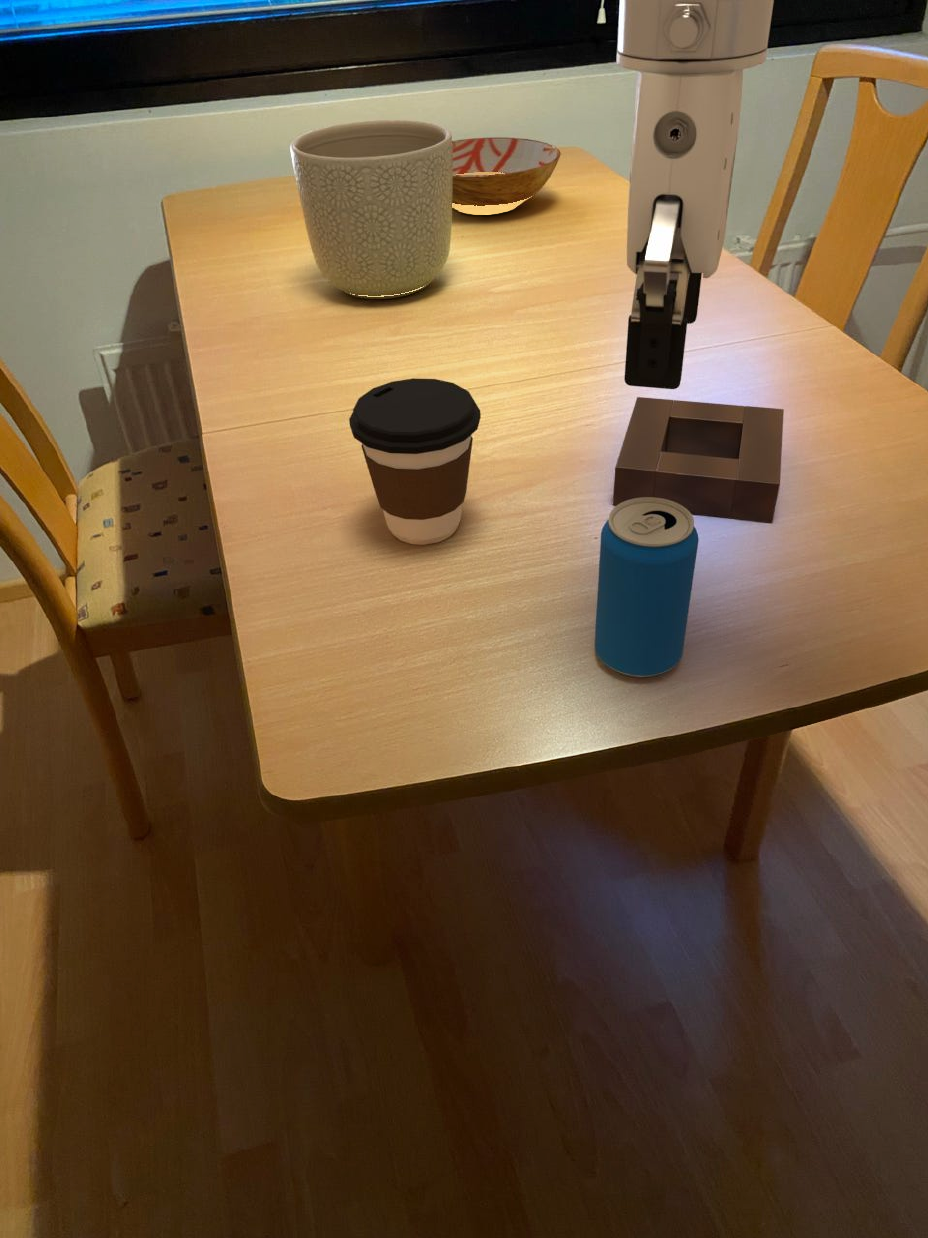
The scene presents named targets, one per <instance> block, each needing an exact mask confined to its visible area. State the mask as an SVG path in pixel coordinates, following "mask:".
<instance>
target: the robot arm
mask: <svg viewBox="0 0 928 1238" xmlns="http://www.w3.org/2000/svg"><path fill="white" fill-rule="evenodd" d="M774 3H775V0H619V6H618V7H619V8H618V27H617V43H616V46H617V47H616V62H615V63H616V65H618V66H619V67H621V68H623V69H627V70H631V71H636V72H637V73H636V87H635V98H634V100H635V101H634V112H633V126H632V138H631V139H632V140H631V153H630V169H629V184H628V185H629V186H628V205H627V230H626V235H627V236H626V266H627V268H629V270H630V271H631V272H632V273H633V274H635V275H636V277H635V286H634V292H633V297H632V305H631V313H630V315H629V316H628V322H627V335H626V336H627V337H626V347H625V348H626V351H625V363H624V364H625V365H624V377H623V379H624V383H625V384H626V385H627V386H630V387H639V388H652V389H653V388H654V389H664V390H676V389H678V388H679V387H680V385H681V381H682V375H683V367H684V366H683V365H684V359H685V357H684V356H685V347H686V338H687V331H688V330H687V329H688V325H690V324H693V323H695V322H696V320H697V316H698V312H699V311H698V309H699V302H700V301H699V300H700V294H701V293H700V292H701V284H702V279H709V278H710V277H712V276H713V275H714V274H715V273H716V272H717V271H718V269H719V268H718V267H719V263H720V260H721V256H722V252H723V247H724V242H725V237H726V232H727V231H726V230H727V221H728V214H729V206H730V198H731V191H732V184H733V183H732V182H733V176H734V167H735V160H736V152H737V143H738V137H739V127H740V118H741V109H742V108H741V107H742V96H743V95H742V94H743V82H744V81H743V78H744V70H745V69H751V68H754V67H756V66H758V65H762V64H764V63H765V62H766V60H767V53H768V45H769V37H770V31H771V22H772V16H773V10H774V9H773V8H774Z"/></svg>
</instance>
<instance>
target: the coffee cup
mask: <svg viewBox="0 0 928 1238" xmlns="http://www.w3.org/2000/svg"><path fill="white" fill-rule="evenodd" d="M481 418H482V415H481V409H480V408H479V406H478V404H477V402H476V400H475V399H474V398H473V396H472V395H471V392H470V391H469V390H467V389H465V388H463V387H462V386H459V385H458V384H456V383H455V382H452V381H445V380H441V379H437V378H416V377H415V378H407V379H399V380H394V381H390V382H387V383H384V384H381V385H378V386H376V387H373V388H372V389H370V390H368V391H367V392H366V393H364V394H363V395H361V396H360V397H358V399H357V401H356V402H355V405H354V407H353V408H352V413H351V415H350V416H349V418H348V421H349V423H348V424H349V429H350V431H351V434H352V437H353V438H354V439H355V440H356V441H358V442H359V443H361V446H360V447H361V449H362V453H363V456H364V459H365V463H366V466H367V469H368V473H369V477H370V480H371V483H372V487H373V490H374V492H375V496H376V499H377V502H378V504H379V507H380V509H382V512H383V516H384V519H385V522H386V525H387V528H388V530H389V531H390V532H391V534H392V535H393V536H394V537H396V538H397V539H398V540H399V541H401V542H404V543H407V544H411V545H420V546H421V545H422V546H426V545H432V544H437V543H440V542H442V541H444V540H447V539H449V538H450V537H451V536H452V535H453V534H454V533H455V532H456V531H457V529H458V527H459V525H460V523H461V518H462V512H463V504H464V502H465V498H466V494H467V489H468V480H469V472H470V466H471V465H470V464H471V457H472V448H473V441H474V439H473V436H472V435H473V434H475V432H477V430H478V429H479V425H480V421H481Z"/></svg>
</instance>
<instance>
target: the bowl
mask: <svg viewBox="0 0 928 1238" xmlns="http://www.w3.org/2000/svg"><path fill="white" fill-rule="evenodd" d="M452 154H453V192H452V203H455V204H461V205H474V206H476V205H477V206H485V205H499V204H508V203H513V202H517V201H520V200H524V199H527V198H529V197H531V196H533V195H534V196H536V195H537V194H538V193H539V191H540V190H541V189H542V188H543V187H544V186H545V185H546V183H547V182H548V181H549V179H550V178H551V176H552V175H553V173H554V171H555V169H556V167H557V165H558V162H559V160H560V157H561V155H562V152H561V151H560V149H559V148H558V147H556V146H555V145H552V144H550V143H548V142H543V141H540V140H536V139H529V138H520V137H506V136H505V137H503V136H501V137H500V136H498V137H497V136H496V137H475V138H465V139H464V138H463V139H457V140H452ZM474 172H501V173H502V172H503V173H505V174H495V175H456V174H464V173H474ZM537 192H538V193H537ZM536 193H537V194H536ZM534 196H533V197H534Z"/></svg>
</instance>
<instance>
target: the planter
mask: <svg viewBox="0 0 928 1238" xmlns="http://www.w3.org/2000/svg"><path fill="white" fill-rule="evenodd" d="M452 138H453V137H452V132H451V131H450V130H449V129H448V128H446V127H445V126H442V125H440V124H437V123H431V122H427V121H426V122H425V121H419V120H407V119H379V120H378V119H377V120H364V121H363V120H362V121H355V122H347V123H340V124H334V125H330V126H329V125H328V126H325V127H320V128H317V129H314V130H311V131H308V132H305V133H303V134H301V135H299V136H297V137H295V139H293V140H292V141H291V142H290V145H289V147H290V155H291V162H292V167H293V173H294V178H295V184H296V188H297V193H298V197H299V202H300V206H301V212H302V215H303V221H304V225H305V230H306V233H307V234H306V235H307V238H308V241H309V245H310V249H311V252H312V255H313V258H314V261H315V264H316V266H317V269H318V270H319V272H320V274H321V275H322V277H323V278H325V280H327V281H328V282H329V283H330V284H331V285H332V286H333V287H334V288H336V289H338V290H339V289H340V290H339V291H341V290H342V291H341V292H343V291H344V292H343V293H344V294H346V295H350V296H352V297H355V298H360V299H367V300H387V299H389V300H390V299H396V298H401V297H402V298H403V297H406V296H409V295H413V294H415V293H417V292H419V291H421V290H423V289H425V288H426V287H427V286H429V285H430V284H431V283H432V282H433V281H435V280H436V279H437V277H438V276H439V275H440V274H441V272H443V269H444V268H445V266H446V264H447V261H448V258H449V255H450V249H451V240H452V224H453V220H452V219H453V209H452V192H453V154H452V141H453V139H452ZM430 282H431V283H430ZM429 283H430V284H429ZM427 284H428V285H427ZM425 285H427V286H425ZM423 286H425V287H423ZM420 287H423V288H421V289H419V290H416V291H413V292H409V291H412V290H415V289H418V288H420ZM346 292H347V293H346ZM405 292H409V293H405ZM349 293H351V294H349ZM401 293H405V294H401ZM352 294H355V295H352ZM394 294H400V295H394ZM358 295H368V296H381V295H394V296H384V297H367V296H358Z"/></svg>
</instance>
